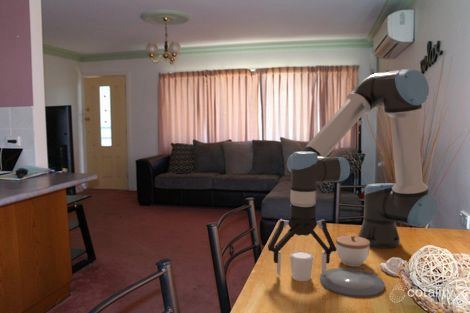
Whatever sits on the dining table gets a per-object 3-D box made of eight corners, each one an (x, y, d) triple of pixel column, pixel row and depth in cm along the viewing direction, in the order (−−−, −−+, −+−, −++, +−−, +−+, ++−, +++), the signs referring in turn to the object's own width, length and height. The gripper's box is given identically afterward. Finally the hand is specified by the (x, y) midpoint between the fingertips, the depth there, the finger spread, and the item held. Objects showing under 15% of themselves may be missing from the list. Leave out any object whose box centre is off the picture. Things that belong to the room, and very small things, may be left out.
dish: (371, 271, 125) (371, 267, 124) (394, 296, 107) (395, 293, 107) (314, 270, 124) (314, 267, 124) (328, 296, 106) (328, 292, 106)
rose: (414, 256, 127) (414, 266, 118) (414, 269, 127) (414, 280, 118) (381, 251, 131) (379, 261, 122) (381, 264, 131) (378, 275, 122)
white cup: (312, 283, 115) (313, 259, 115) (288, 280, 117) (289, 257, 116) (312, 273, 122) (313, 251, 121) (290, 272, 123) (290, 250, 123)
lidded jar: (364, 271, 124) (365, 242, 123) (330, 264, 130) (331, 236, 129) (372, 261, 133) (373, 234, 132) (340, 255, 139) (341, 229, 138)
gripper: (341, 201, 121) (338, 268, 123) (260, 200, 121) (258, 268, 123) (348, 207, 114) (345, 278, 116) (261, 206, 113) (260, 278, 115)
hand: (301, 273), depth 119 cm, fingers open, 13 cm apart
